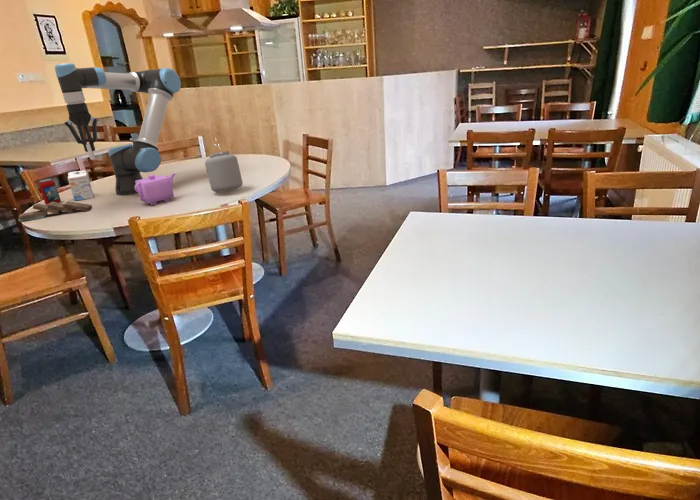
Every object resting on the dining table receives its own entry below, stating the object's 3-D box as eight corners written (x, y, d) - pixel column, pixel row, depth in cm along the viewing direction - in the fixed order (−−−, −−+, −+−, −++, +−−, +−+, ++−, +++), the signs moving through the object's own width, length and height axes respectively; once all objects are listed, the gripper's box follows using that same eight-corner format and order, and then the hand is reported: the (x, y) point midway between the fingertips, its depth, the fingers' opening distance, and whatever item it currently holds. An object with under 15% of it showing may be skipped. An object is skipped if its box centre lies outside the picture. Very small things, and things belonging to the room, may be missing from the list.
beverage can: (54, 205, 219) (45, 181, 214) (42, 206, 220) (33, 182, 216) (64, 201, 225) (56, 178, 220) (53, 202, 227) (45, 178, 222)
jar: (207, 190, 221) (196, 138, 212) (236, 184, 228) (227, 134, 218) (216, 198, 206) (205, 142, 196) (247, 191, 212) (238, 137, 203)
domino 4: (76, 206, 207) (52, 201, 205) (72, 209, 203) (47, 204, 200) (76, 210, 208) (52, 204, 205) (72, 213, 203) (47, 207, 200)
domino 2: (47, 212, 204) (22, 216, 202) (43, 215, 200) (18, 219, 197) (48, 216, 205) (23, 219, 203) (44, 219, 200) (19, 222, 198)
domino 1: (46, 209, 204) (20, 214, 200) (45, 211, 199) (18, 216, 195) (47, 212, 204) (21, 217, 200) (46, 215, 200) (19, 220, 196)
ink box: (74, 201, 224) (65, 174, 219) (75, 197, 231) (66, 172, 226) (93, 197, 228) (85, 171, 222) (93, 194, 235) (85, 169, 229)
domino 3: (62, 209, 206) (38, 203, 203) (58, 210, 201) (33, 205, 198) (62, 212, 206) (37, 206, 203) (58, 214, 201) (32, 208, 198)
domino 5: (91, 204, 208) (68, 201, 206) (87, 207, 204) (63, 204, 202) (91, 208, 209) (68, 204, 207) (87, 211, 204) (63, 207, 202)
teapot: (143, 208, 200) (136, 180, 195) (135, 204, 207) (128, 178, 202) (186, 197, 213) (180, 170, 208) (177, 194, 220) (171, 168, 215)
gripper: (94, 101, 195) (110, 155, 204) (61, 104, 192) (78, 159, 201) (90, 101, 189) (107, 158, 198) (56, 105, 186) (74, 162, 195)
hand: (92, 158), depth 199 cm, fingers closed
